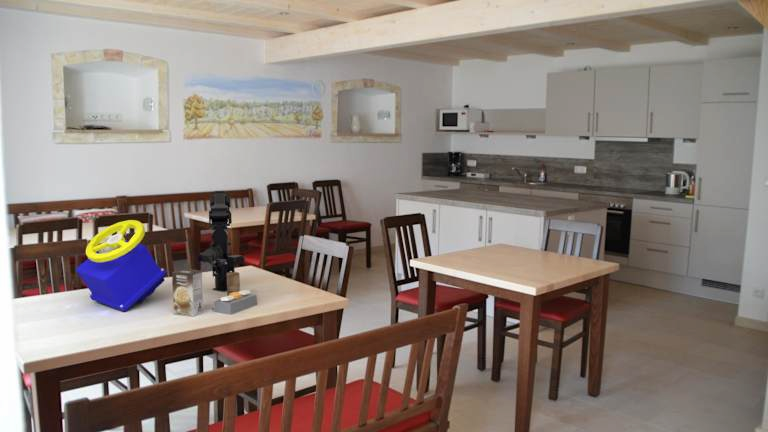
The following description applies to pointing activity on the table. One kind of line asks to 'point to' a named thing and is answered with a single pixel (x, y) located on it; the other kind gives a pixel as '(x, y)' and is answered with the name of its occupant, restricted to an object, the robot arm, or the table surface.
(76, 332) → the table surface
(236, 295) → the block
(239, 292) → the block
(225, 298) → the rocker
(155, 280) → the control box
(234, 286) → the wood post
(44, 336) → the table surface
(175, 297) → the coffee box
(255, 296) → the switch panel
